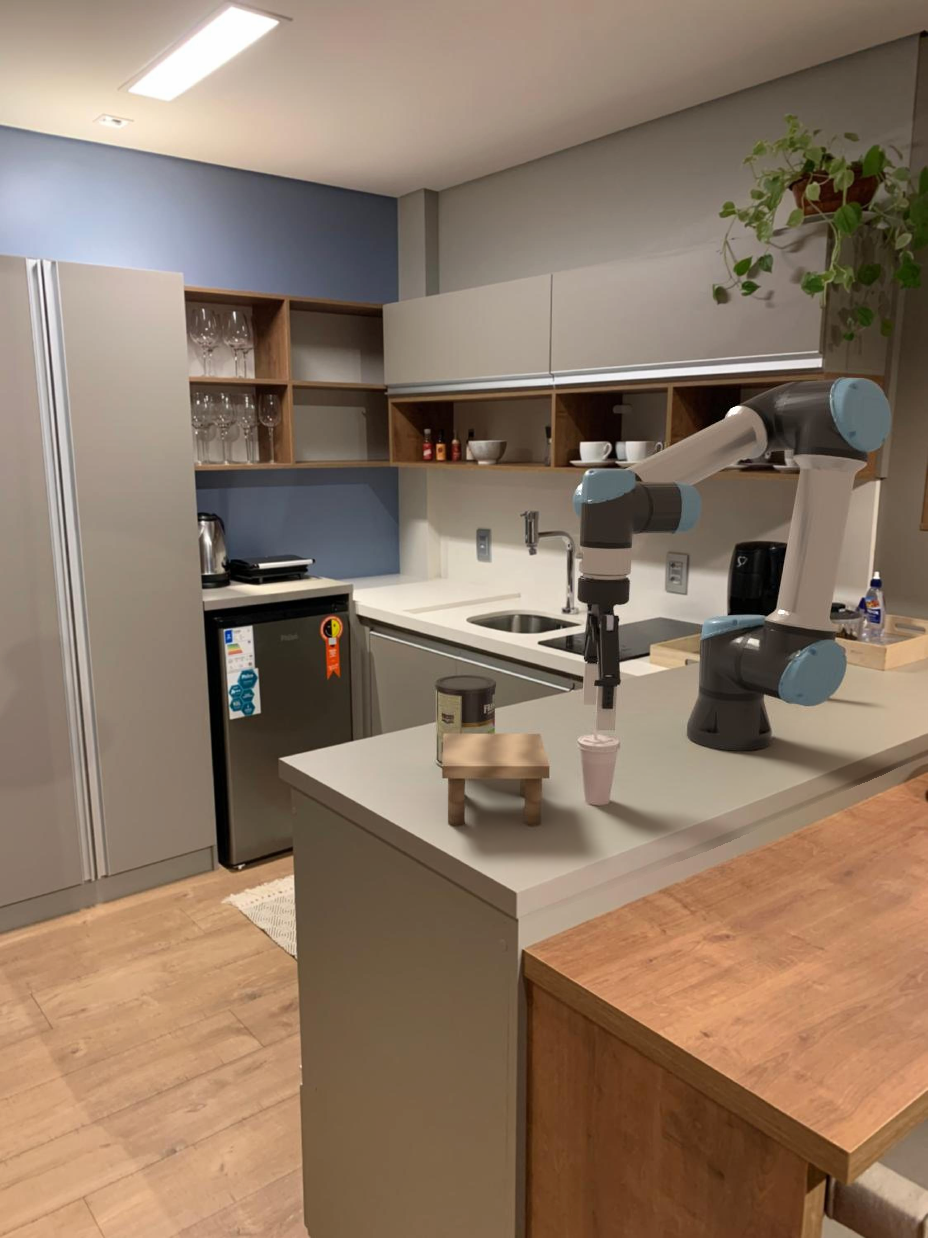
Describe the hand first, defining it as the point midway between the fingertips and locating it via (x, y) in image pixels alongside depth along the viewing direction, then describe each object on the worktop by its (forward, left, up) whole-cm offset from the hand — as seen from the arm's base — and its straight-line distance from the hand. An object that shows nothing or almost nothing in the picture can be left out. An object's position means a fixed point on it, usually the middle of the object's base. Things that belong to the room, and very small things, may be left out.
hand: (597, 716), depth 140 cm
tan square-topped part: (+16, +3, -13) cm, 21 cm away
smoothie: (0, 0, -14) cm, 14 cm away
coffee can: (+20, -18, -14) cm, 30 cm away
